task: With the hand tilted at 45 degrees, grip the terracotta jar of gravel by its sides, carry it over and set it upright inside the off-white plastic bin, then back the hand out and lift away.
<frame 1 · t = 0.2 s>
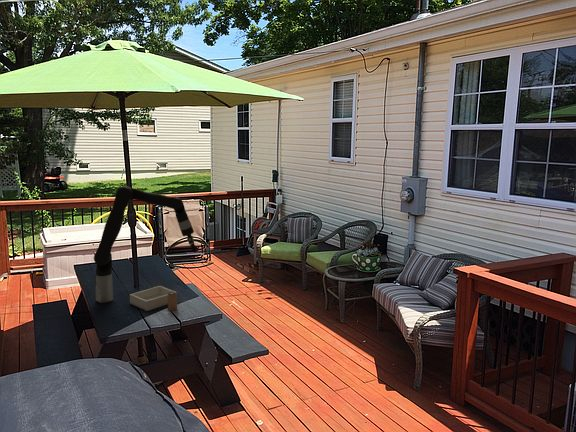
hand: (194, 250, 293), 30 cm above the table, tool tilted 20°, fingers open, 8 cm apart
bin: (153, 302, 287), on the table
jar: (172, 309, 276), on the table
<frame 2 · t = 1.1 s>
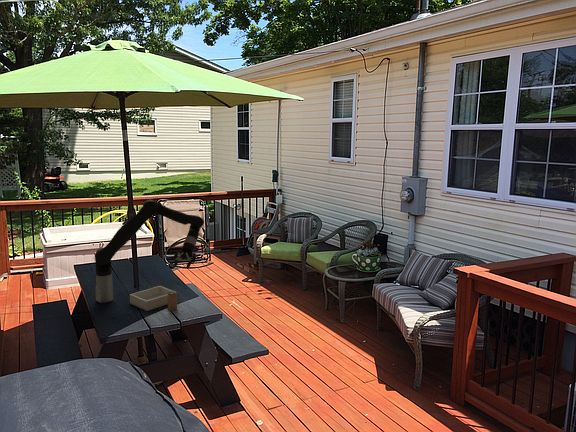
hand: (181, 267, 283), 23 cm above the table, tool tilted 45°, fingers open, 8 cm apart
nothing on the table moved.
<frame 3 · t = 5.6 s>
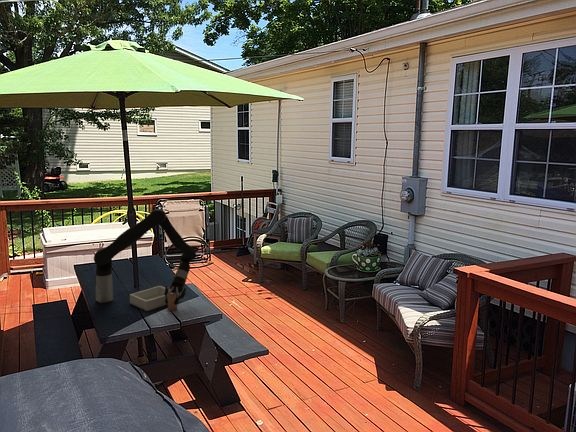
hand: (170, 303, 274), 4 cm above the table, tool tilted 45°, fingers closed on jar, 5 cm apart
jar: (172, 309, 276), on the table, touching gripper
when the fingers open (7 cm above the table, at t = 12.1 s): jar drops 1 cm, resting on bin.
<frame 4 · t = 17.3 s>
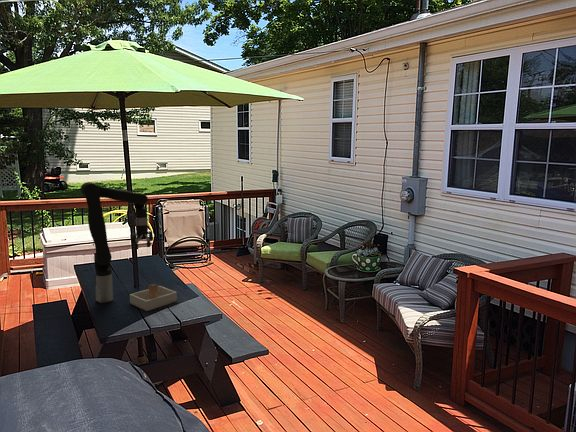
hand: (142, 248, 300), 30 cm above the table, tool pointing down, fingers open, 8 cm apart
jar: (153, 300, 287), point 1 cm above the table, touching bin
at the end: jar inside the target area on the bin (0.1 cm from its centre), point 1.0 cm above the bin's base; jar tilted 1°; the gripper is holding nothing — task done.
